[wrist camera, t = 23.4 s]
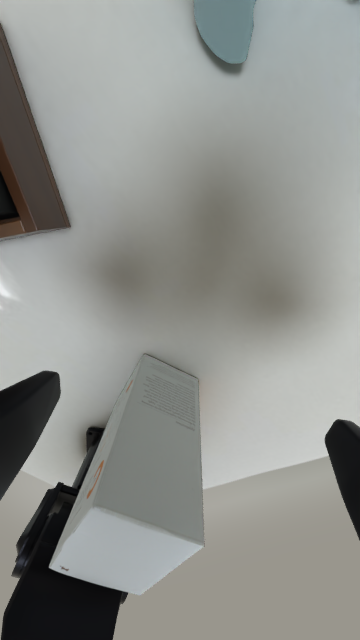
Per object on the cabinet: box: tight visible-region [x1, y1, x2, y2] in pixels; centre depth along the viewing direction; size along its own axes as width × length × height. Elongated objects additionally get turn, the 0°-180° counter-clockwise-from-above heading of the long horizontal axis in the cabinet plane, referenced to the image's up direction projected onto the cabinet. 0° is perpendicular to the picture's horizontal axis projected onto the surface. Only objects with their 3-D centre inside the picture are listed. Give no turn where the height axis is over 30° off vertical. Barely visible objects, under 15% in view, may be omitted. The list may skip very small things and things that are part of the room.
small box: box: [49, 354, 205, 595], centre depth 18 cm, size 8×6×13 cm
